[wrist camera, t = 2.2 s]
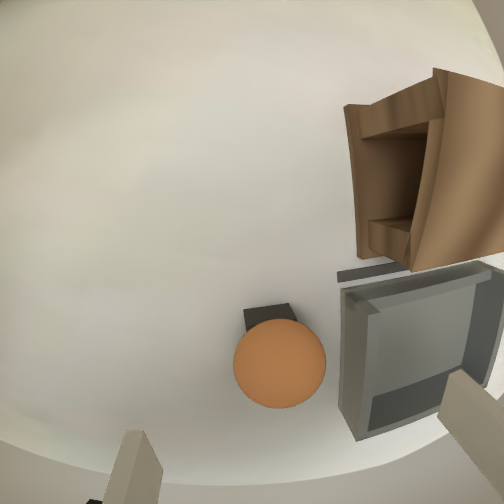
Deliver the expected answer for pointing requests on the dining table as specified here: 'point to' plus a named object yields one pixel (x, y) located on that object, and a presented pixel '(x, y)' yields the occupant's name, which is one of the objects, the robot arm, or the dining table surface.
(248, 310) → the dark open box
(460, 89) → the wooden cubby
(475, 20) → the dining table surface
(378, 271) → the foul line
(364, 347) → the bin
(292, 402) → the ball
